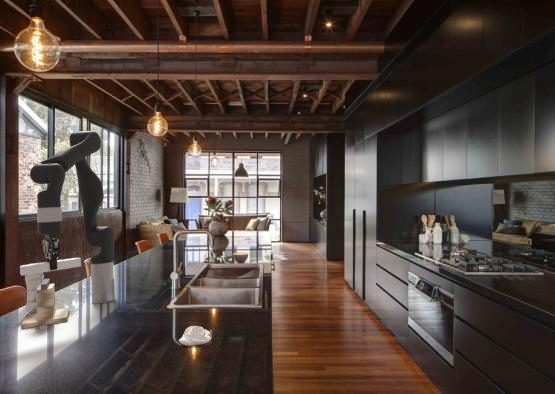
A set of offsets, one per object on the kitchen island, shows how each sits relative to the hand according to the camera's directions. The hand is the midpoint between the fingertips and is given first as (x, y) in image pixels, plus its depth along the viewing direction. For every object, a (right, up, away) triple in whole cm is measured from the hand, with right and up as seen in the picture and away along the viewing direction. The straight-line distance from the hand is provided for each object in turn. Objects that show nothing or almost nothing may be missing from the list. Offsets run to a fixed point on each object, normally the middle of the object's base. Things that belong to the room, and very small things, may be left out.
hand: (52, 269), depth 128 cm
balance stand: (-8, -21, +10) cm, 25 cm away
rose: (+55, -19, -17) cm, 60 cm away
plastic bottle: (-19, -22, +20) cm, 35 cm away
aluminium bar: (0, 0, 0) cm, 0 cm away
